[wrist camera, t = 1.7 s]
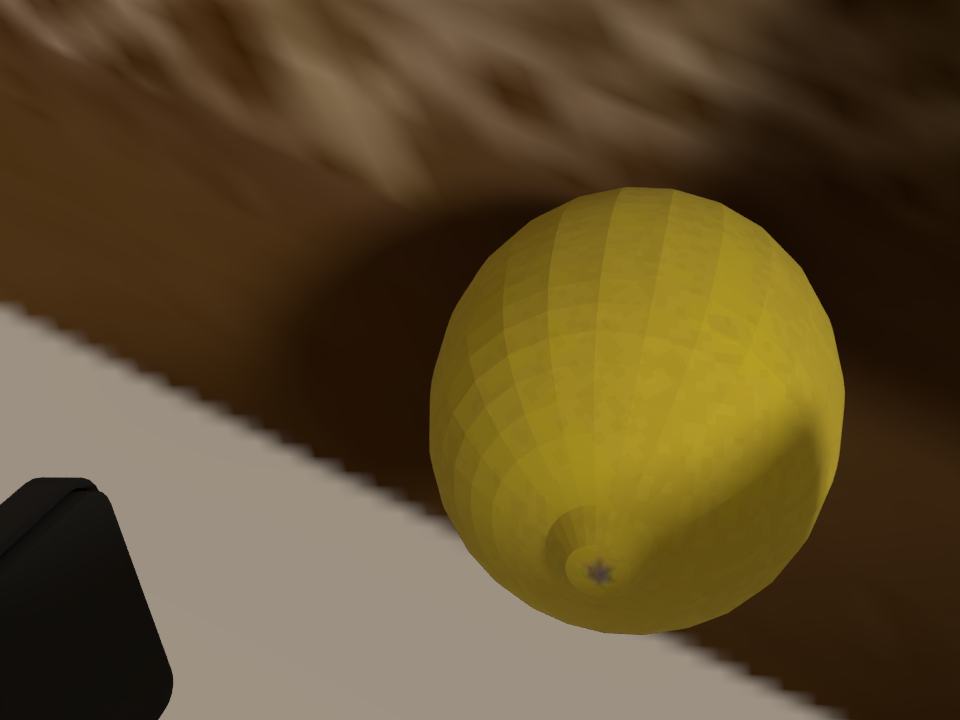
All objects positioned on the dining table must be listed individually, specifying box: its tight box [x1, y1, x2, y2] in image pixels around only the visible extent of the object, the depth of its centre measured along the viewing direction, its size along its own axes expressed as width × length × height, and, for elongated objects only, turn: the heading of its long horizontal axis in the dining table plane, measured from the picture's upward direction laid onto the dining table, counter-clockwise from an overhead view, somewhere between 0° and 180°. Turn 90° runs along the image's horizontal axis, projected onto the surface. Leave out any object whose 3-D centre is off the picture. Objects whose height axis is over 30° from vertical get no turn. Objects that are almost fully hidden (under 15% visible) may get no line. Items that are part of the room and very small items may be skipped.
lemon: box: [429, 187, 845, 635], centre depth 13 cm, size 6×6×8 cm
